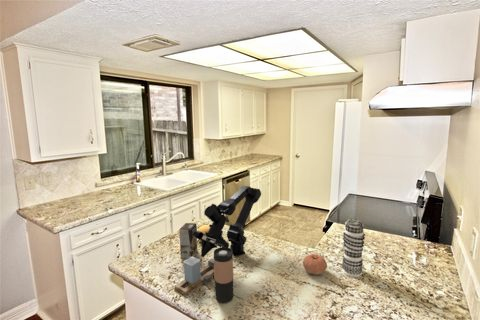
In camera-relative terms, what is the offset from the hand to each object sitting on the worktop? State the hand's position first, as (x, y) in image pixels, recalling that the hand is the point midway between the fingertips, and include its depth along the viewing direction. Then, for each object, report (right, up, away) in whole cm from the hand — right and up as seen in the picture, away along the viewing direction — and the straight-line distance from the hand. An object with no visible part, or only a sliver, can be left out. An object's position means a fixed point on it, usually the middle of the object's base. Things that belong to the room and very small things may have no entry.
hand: (202, 256), depth 120 cm
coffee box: (-10, -7, +22) cm, 25 cm away
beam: (0, -10, -1) cm, 10 cm away
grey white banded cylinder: (+70, -8, +3) cm, 70 cm away
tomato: (+52, -9, +4) cm, 53 cm away
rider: (-3, -10, -3) cm, 12 cm away
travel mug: (+11, -12, -13) cm, 21 cm away
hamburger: (-3, -4, +40) cm, 40 cm away
